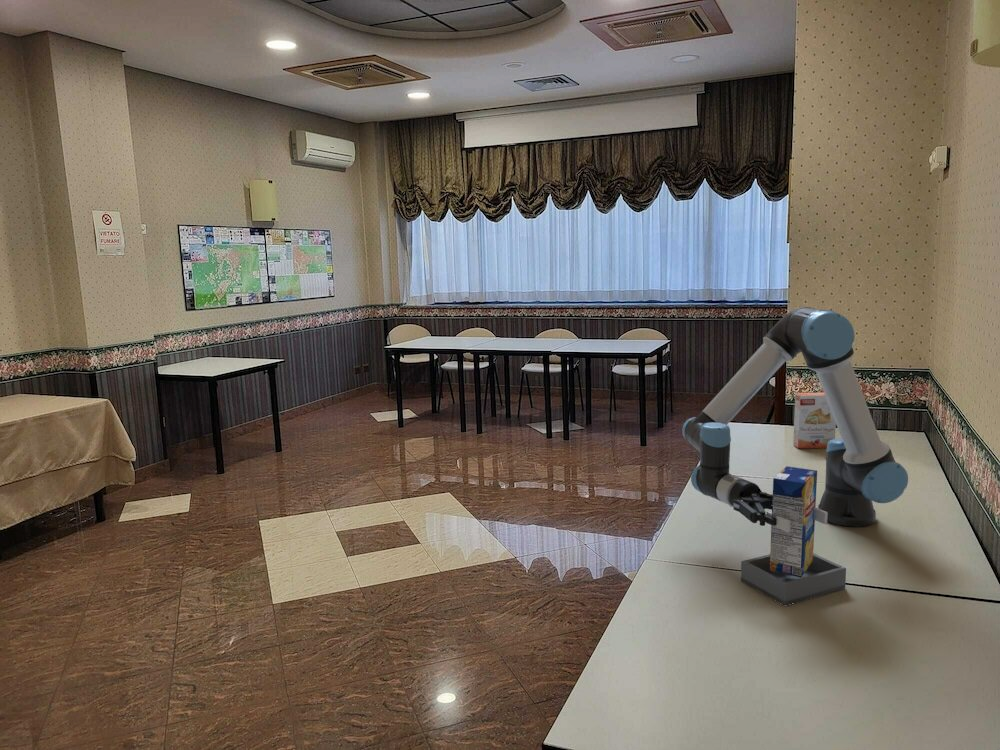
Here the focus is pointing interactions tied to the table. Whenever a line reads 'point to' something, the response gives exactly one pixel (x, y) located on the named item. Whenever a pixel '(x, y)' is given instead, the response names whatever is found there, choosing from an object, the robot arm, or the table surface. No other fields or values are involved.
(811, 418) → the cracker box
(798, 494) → the beverage box
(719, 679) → the table surface
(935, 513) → the table surface
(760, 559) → the tray
